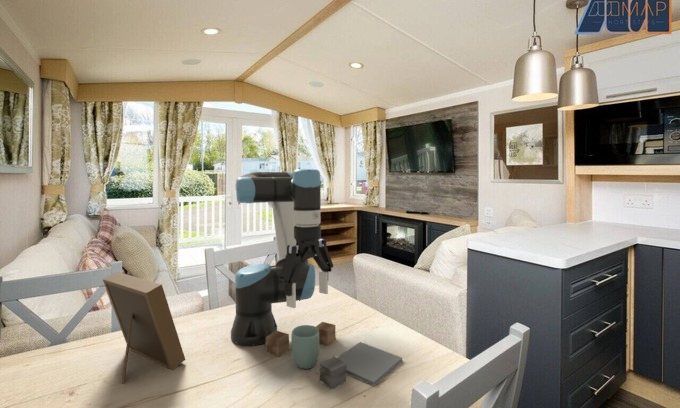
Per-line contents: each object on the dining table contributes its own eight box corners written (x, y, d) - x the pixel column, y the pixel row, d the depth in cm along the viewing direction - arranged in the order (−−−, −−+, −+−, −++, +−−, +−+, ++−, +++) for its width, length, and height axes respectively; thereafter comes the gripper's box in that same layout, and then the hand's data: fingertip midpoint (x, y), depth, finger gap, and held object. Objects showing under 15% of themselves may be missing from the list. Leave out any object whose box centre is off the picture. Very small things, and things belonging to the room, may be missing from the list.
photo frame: (142, 343, 110) (137, 267, 108) (185, 363, 99) (180, 278, 97) (89, 366, 98) (82, 280, 95) (132, 391, 87) (125, 295, 84)
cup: (315, 374, 94) (315, 338, 93) (287, 370, 96) (287, 336, 95) (322, 359, 102) (322, 326, 101) (297, 356, 103) (296, 323, 102)
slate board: (329, 365, 98) (329, 362, 98) (360, 344, 110) (360, 341, 110) (373, 385, 89) (373, 382, 89) (402, 361, 101) (402, 357, 100)
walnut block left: (314, 342, 112) (314, 327, 111) (322, 336, 116) (322, 321, 116) (327, 346, 109) (327, 331, 109) (335, 339, 114) (335, 324, 113)
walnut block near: (265, 352, 105) (265, 337, 105) (276, 345, 110) (276, 330, 109) (278, 357, 103) (278, 341, 102) (289, 349, 107) (289, 334, 107)
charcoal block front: (319, 380, 91) (319, 362, 91) (334, 373, 94) (334, 356, 94) (331, 389, 87) (331, 371, 87) (346, 381, 91) (346, 363, 90)
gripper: (284, 231, 84) (285, 316, 86) (344, 221, 104) (344, 290, 106) (263, 229, 89) (265, 310, 90) (325, 219, 109) (325, 286, 110)
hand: (308, 299), depth 98 cm, fingers open, 13 cm apart
